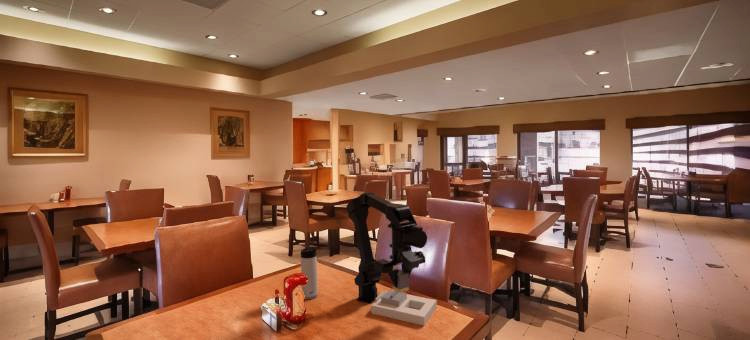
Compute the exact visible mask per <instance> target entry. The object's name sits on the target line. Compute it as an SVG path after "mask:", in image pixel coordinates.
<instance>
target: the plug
mask: <svg viewBox="0 0 750 340" xmlns="http://www.w3.org/2000/svg"><path fill="white" fill-rule="evenodd" d="M409 279H410V276H409V273H407V272H405V271H402V269H399V272H398V274H397V288H395V287H394V285H393V284H392V290H393V291H397V292H399V293H401V292H403V293H406V292H407V291H409V290H410V288H409V285H410V284H409V283H410V282H409V281H410V280H409Z"/></svg>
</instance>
